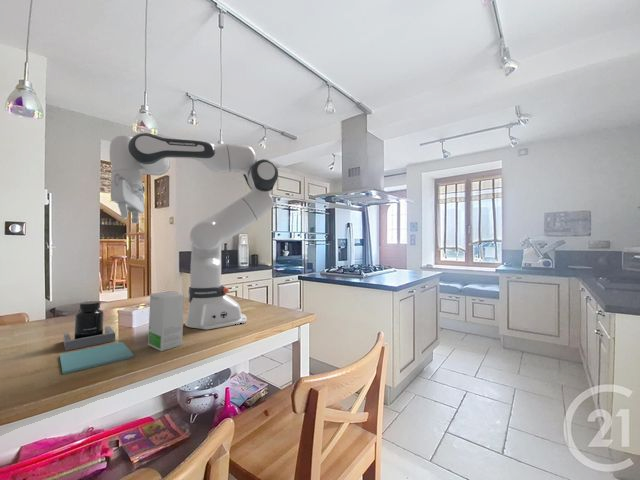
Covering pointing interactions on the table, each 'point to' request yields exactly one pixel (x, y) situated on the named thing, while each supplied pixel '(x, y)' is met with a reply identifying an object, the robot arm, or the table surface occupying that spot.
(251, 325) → the table surface
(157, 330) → the skincare box
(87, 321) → the supplement bottle
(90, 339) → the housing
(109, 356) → the mat
